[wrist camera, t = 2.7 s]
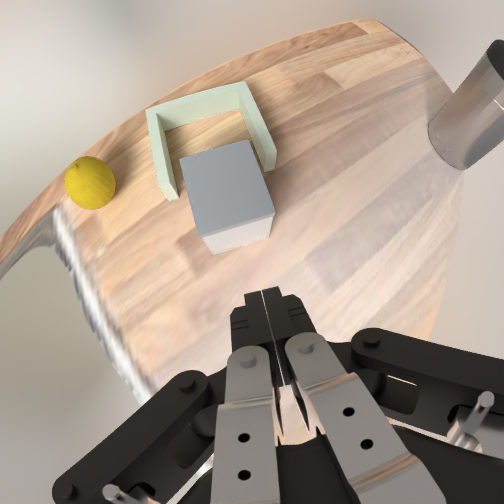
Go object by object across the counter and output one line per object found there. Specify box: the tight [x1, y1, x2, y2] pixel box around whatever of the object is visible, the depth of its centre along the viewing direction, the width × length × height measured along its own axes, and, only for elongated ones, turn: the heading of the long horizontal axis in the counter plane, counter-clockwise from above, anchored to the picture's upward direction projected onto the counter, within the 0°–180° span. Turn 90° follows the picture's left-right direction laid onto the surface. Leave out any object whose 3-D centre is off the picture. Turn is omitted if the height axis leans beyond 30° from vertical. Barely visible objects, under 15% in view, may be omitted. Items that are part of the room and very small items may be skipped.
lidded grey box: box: [179, 139, 276, 255], centre depth 26 cm, size 6×7×8 cm
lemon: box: [64, 156, 116, 210], centre depth 27 cm, size 6×6×8 cm
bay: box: [146, 81, 277, 201], centre depth 30 cm, size 12×11×4 cm
